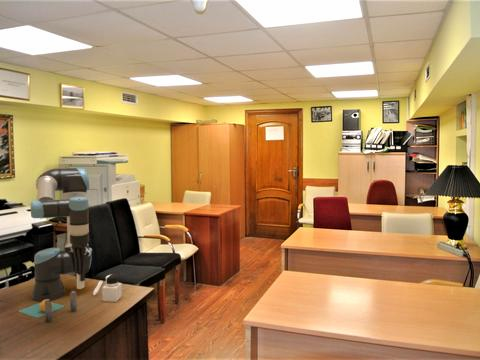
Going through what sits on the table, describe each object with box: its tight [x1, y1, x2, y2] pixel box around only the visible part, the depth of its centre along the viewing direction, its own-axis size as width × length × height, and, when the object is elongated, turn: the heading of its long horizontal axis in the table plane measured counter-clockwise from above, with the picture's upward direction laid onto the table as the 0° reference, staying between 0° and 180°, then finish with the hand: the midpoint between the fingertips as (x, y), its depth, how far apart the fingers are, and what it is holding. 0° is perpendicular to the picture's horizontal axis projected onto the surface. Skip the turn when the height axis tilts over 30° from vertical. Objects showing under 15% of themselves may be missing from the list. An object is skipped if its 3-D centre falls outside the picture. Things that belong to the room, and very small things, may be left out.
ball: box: [39, 299, 54, 312], centre depth 177 cm, size 6×6×6 cm
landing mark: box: [17, 301, 65, 319], centre depth 180 cm, size 14×14×1 cm
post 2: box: [69, 290, 78, 313], centre depth 178 cm, size 3×3×9 cm
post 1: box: [44, 300, 53, 324], centre depth 167 cm, size 3×3×9 cm
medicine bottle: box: [101, 273, 123, 303], centre depth 192 cm, size 7×7×12 cm
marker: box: [92, 280, 104, 296], centre depth 205 cm, size 18×2×2 cm, turn 9°
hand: (80, 287), depth 166 cm, fingers closed
